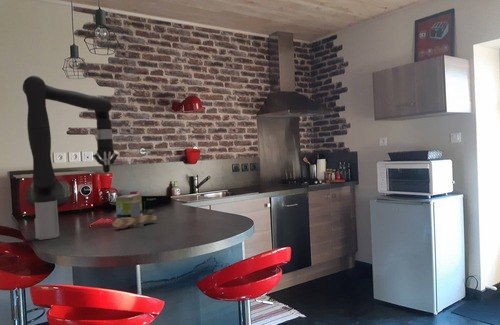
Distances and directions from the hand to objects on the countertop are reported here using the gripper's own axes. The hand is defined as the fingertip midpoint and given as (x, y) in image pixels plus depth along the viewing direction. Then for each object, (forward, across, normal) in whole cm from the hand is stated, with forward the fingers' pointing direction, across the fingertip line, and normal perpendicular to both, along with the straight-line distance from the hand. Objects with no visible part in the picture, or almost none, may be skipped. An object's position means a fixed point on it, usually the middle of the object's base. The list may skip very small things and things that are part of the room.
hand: (106, 172), depth 199 cm
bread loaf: (+28, +10, -9) cm, 31 cm away
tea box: (+29, +16, +9) cm, 34 cm away
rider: (+24, +10, -9) cm, 28 cm away
